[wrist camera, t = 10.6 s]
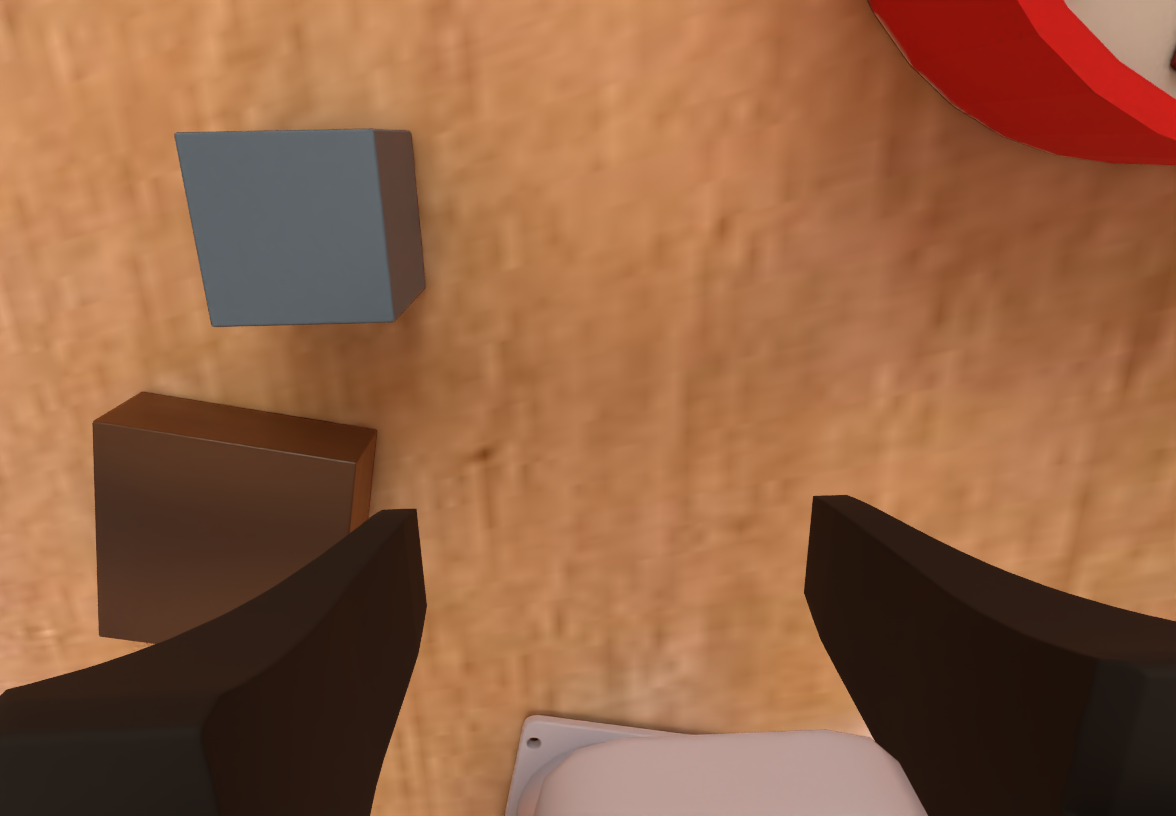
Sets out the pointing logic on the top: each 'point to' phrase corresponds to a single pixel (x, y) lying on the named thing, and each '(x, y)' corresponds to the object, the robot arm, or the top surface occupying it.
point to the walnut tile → (214, 507)
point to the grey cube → (304, 224)
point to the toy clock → (1051, 70)
